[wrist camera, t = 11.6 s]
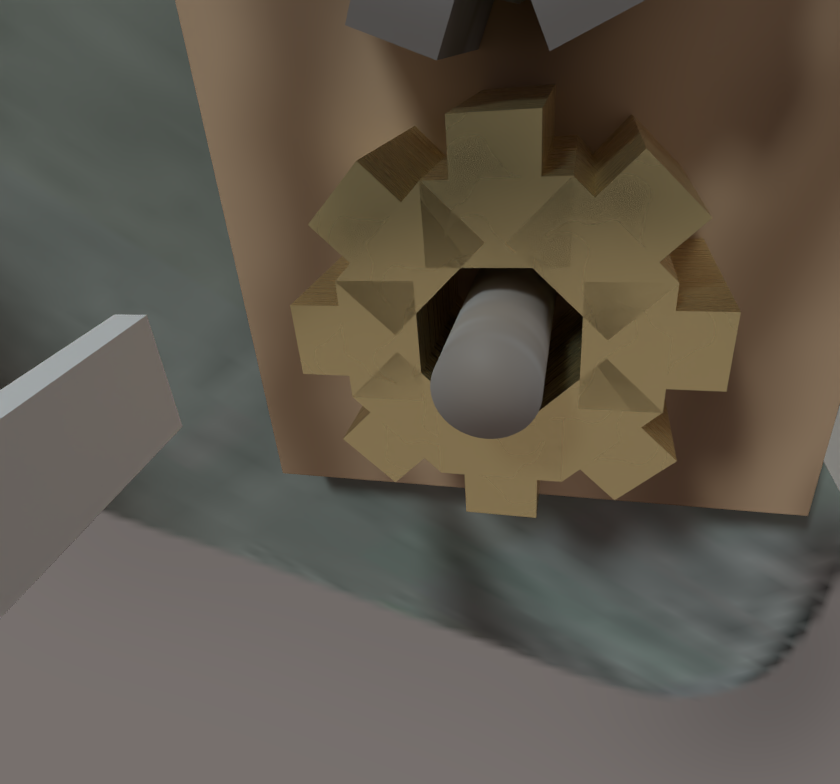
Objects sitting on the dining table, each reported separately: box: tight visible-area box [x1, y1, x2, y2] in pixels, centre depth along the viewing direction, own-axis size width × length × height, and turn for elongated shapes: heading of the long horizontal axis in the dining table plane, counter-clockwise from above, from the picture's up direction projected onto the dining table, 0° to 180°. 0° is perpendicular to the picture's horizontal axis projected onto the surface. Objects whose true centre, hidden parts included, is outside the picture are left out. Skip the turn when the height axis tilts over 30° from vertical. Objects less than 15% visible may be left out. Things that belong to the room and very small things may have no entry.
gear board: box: [175, 0, 840, 516], centre depth 14 cm, size 18×26×9 cm
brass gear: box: [290, 84, 741, 518], centre depth 16 cm, size 10×10×5 cm
